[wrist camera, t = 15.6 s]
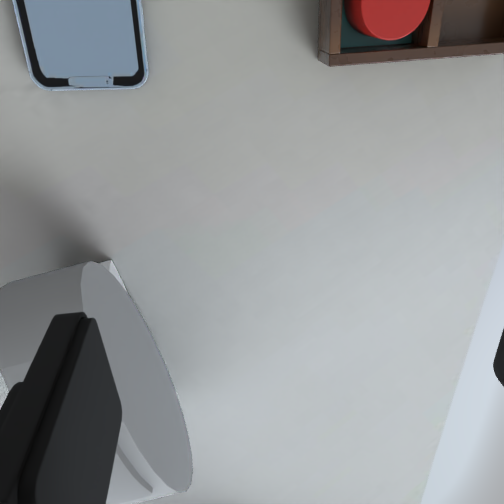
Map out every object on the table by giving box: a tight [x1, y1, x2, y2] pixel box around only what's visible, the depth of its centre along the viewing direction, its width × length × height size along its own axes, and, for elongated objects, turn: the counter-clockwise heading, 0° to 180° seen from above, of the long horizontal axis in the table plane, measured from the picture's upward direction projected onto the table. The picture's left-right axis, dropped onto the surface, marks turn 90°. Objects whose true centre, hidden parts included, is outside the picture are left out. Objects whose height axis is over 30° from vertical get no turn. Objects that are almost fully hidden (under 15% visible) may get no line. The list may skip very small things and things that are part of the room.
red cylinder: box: [344, 0, 430, 40], centre depth 26 cm, size 4×4×4 cm
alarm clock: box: [0, 260, 193, 504], centre depth 35 cm, size 23×6×13 cm, turn 14°
